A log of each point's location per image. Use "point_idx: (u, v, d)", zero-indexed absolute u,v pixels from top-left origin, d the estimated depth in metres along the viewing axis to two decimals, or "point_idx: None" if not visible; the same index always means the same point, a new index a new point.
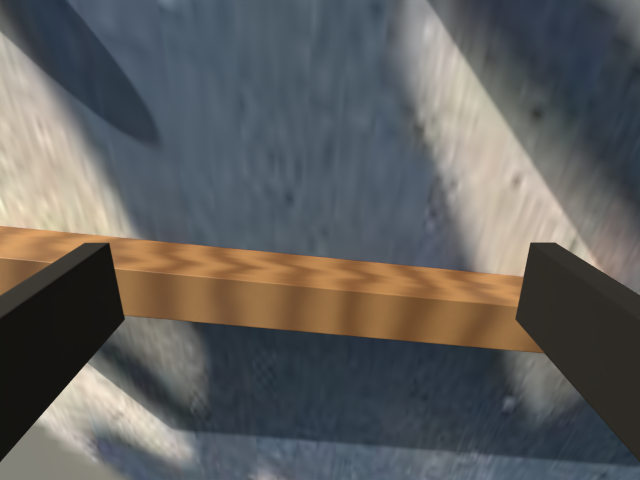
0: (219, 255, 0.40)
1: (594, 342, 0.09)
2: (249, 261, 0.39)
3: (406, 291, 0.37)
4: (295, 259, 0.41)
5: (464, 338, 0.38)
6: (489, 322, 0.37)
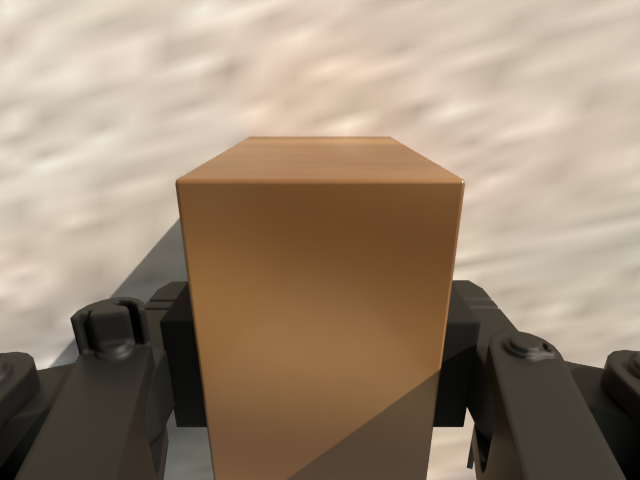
0: None
1: None
2: None
3: None
4: None
5: None
6: None
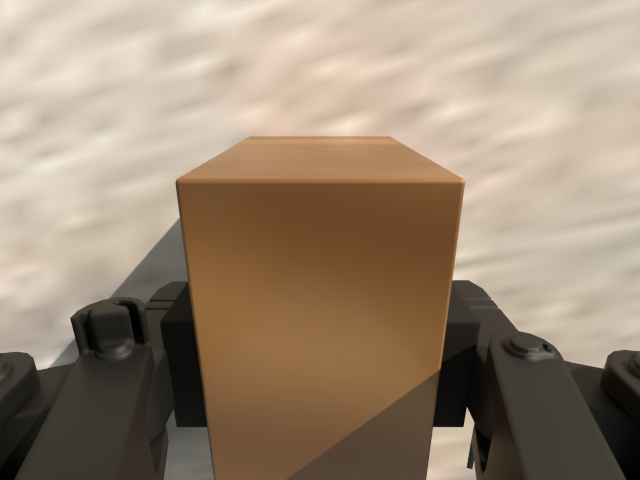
0: None
1: None
2: None
3: None
4: None
5: None
6: None
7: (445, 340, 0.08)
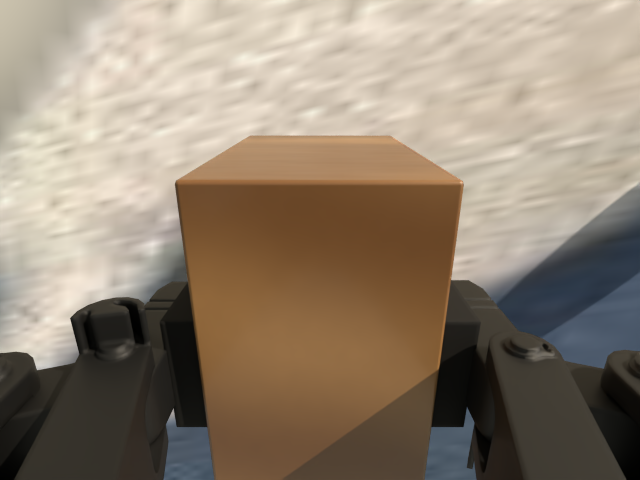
0: None
1: None
2: None
3: None
4: None
5: None
6: None
7: (445, 340, 0.08)
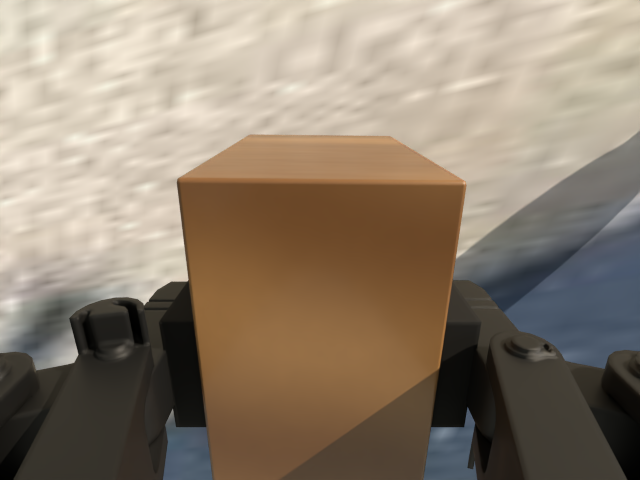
0: None
1: None
2: None
3: None
4: None
5: None
6: None
7: (446, 340, 0.08)
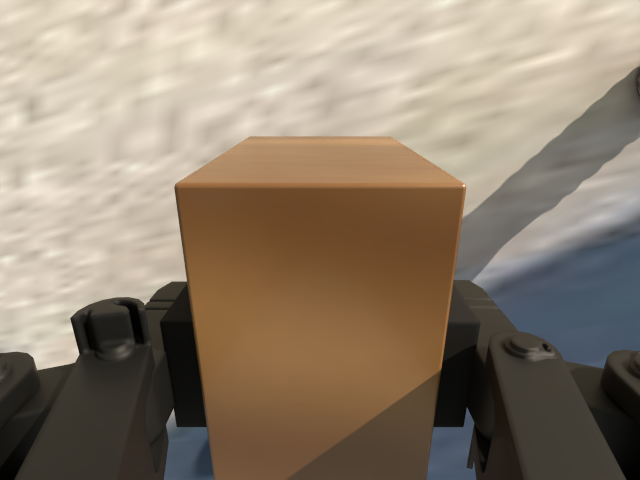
0: None
1: None
2: None
3: None
4: None
5: None
6: None
7: (445, 340, 0.08)
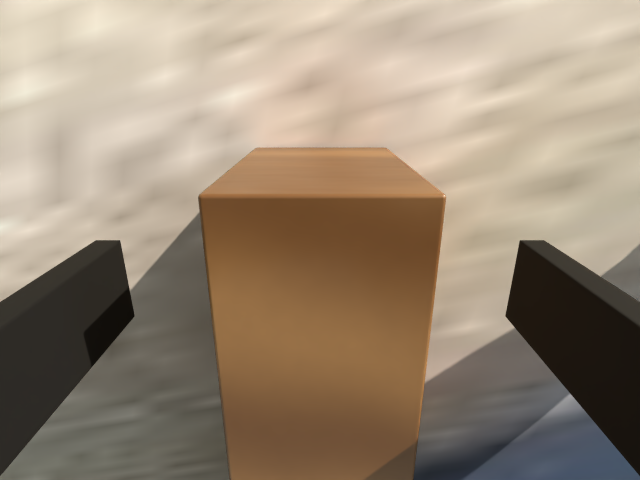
0: None
1: (579, 337, 0.09)
2: None
3: None
4: None
5: None
6: None
7: None
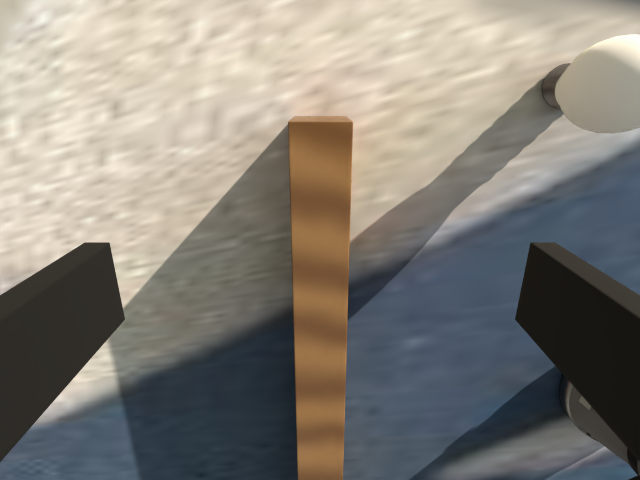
0: None
1: (594, 342, 0.09)
2: None
3: None
4: None
5: None
6: None
7: None
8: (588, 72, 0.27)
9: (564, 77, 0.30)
